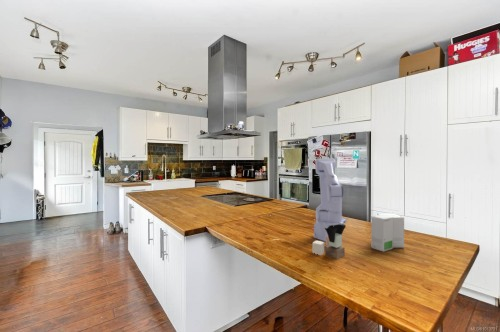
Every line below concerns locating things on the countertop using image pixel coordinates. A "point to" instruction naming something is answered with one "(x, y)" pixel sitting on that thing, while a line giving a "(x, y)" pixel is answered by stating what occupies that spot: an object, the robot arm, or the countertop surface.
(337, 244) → the sage block
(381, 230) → the skincare box
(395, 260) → the countertop surface
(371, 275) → the countertop surface
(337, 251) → the walnut block
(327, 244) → the terracotta cylinder
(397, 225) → the supplement box
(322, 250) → the cream block
